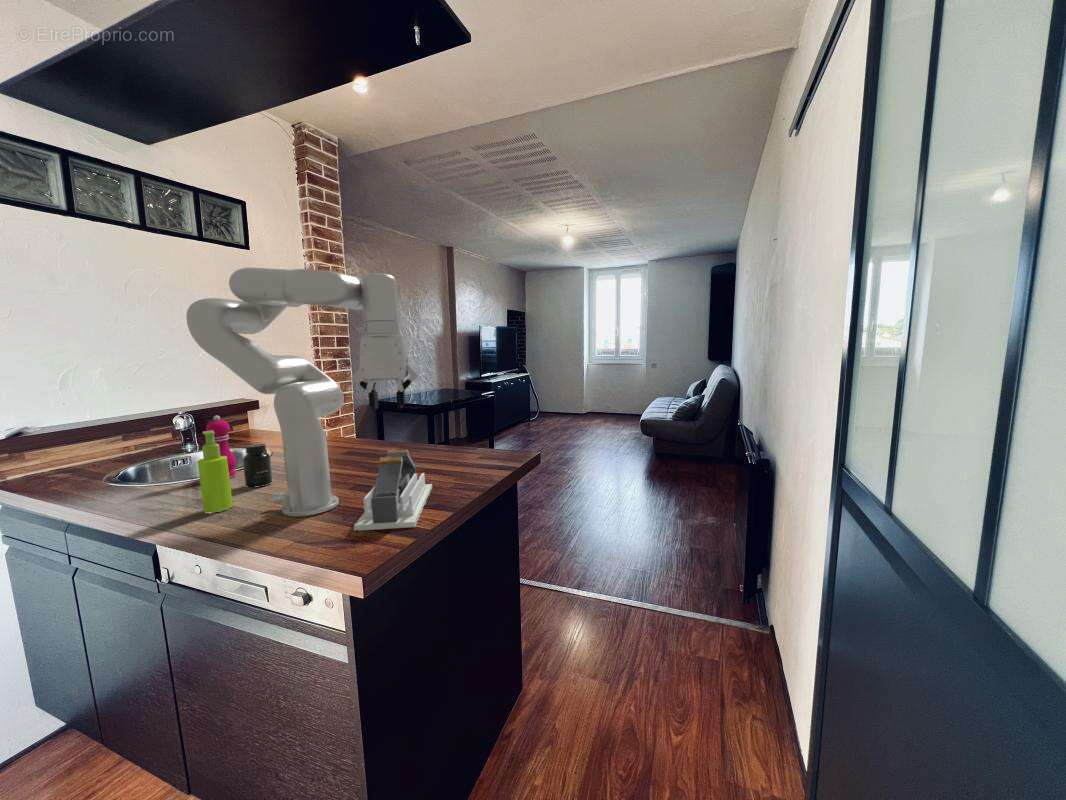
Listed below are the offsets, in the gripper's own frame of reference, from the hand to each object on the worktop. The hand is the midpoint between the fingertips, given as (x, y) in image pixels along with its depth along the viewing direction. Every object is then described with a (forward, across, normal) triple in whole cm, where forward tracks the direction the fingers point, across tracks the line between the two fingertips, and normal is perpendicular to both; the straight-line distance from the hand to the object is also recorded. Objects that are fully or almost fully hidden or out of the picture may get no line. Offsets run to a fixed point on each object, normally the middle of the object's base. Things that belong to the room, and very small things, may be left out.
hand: (387, 407), depth 99 cm
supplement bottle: (+26, -46, +28) cm, 60 cm away
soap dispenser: (+26, -46, +9) cm, 53 cm away
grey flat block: (+16, 0, -3) cm, 16 cm away
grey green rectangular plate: (+16, 0, +10) cm, 19 cm away
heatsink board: (+25, 0, +3) cm, 26 cm away
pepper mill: (+26, -62, +38) cm, 77 cm away
